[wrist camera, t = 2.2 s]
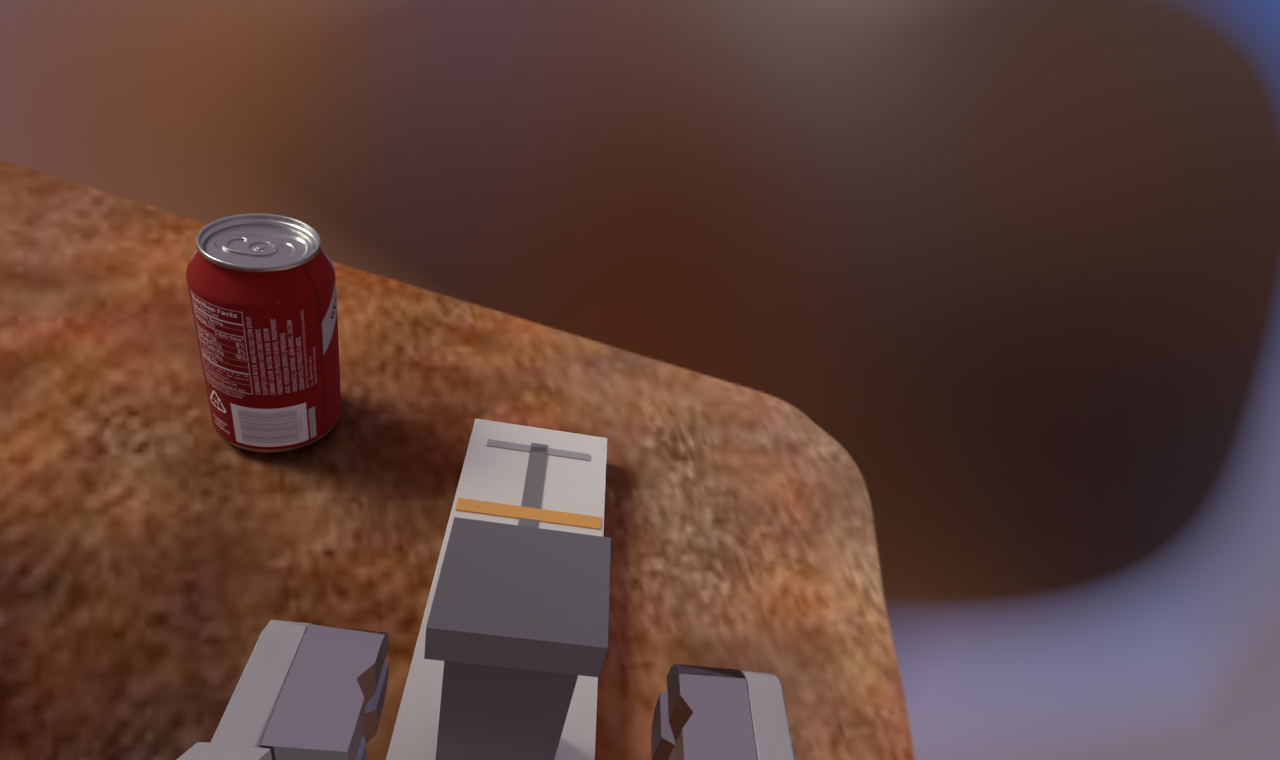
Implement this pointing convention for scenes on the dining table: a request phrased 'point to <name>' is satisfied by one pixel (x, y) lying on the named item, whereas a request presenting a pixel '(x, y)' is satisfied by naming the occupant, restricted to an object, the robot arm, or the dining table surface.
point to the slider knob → (515, 636)
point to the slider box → (525, 496)
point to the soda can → (266, 331)
